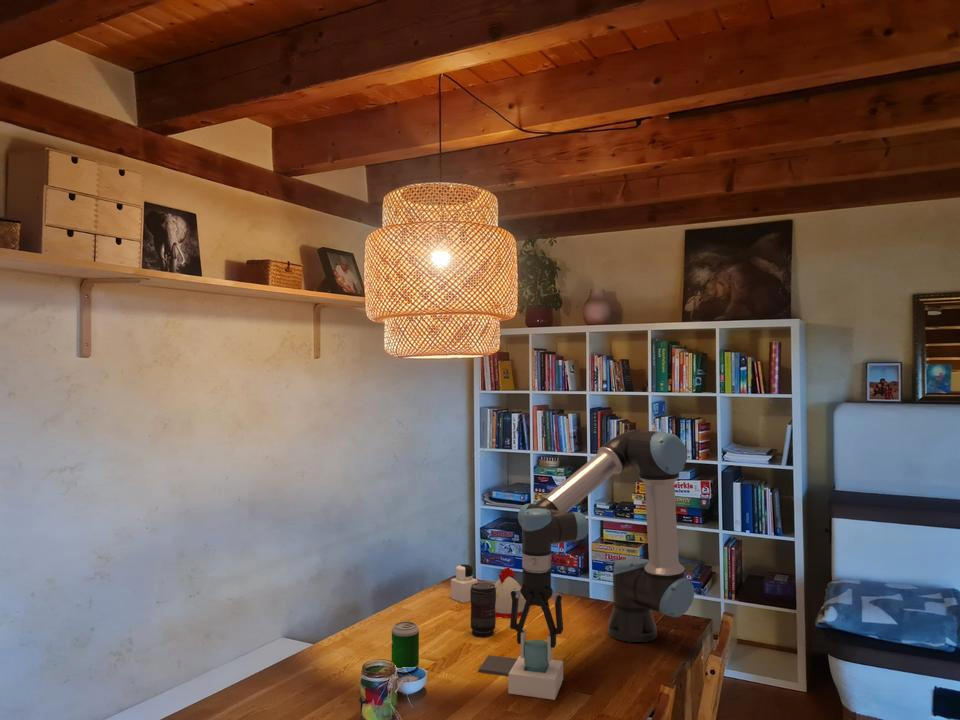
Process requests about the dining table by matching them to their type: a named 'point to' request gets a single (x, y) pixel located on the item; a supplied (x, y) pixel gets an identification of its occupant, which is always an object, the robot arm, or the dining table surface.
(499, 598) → the kitchen timer
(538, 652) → the capped plug
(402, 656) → the soda can
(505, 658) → the slate mat
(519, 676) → the bore block
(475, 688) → the dining table surface
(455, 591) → the medicine bottle
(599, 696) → the dining table surface
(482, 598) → the camera lens
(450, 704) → the dining table surface
